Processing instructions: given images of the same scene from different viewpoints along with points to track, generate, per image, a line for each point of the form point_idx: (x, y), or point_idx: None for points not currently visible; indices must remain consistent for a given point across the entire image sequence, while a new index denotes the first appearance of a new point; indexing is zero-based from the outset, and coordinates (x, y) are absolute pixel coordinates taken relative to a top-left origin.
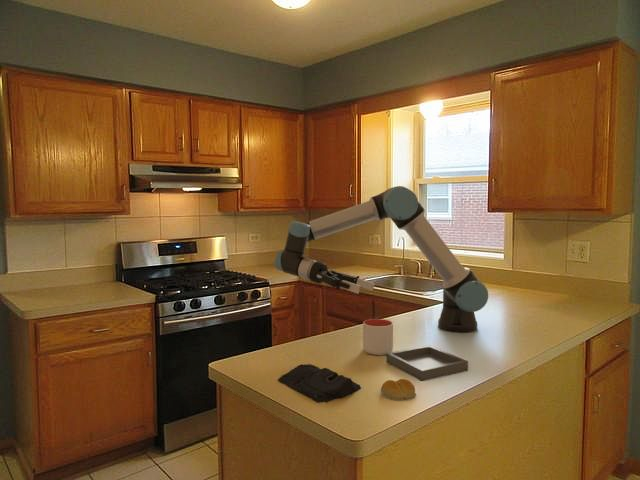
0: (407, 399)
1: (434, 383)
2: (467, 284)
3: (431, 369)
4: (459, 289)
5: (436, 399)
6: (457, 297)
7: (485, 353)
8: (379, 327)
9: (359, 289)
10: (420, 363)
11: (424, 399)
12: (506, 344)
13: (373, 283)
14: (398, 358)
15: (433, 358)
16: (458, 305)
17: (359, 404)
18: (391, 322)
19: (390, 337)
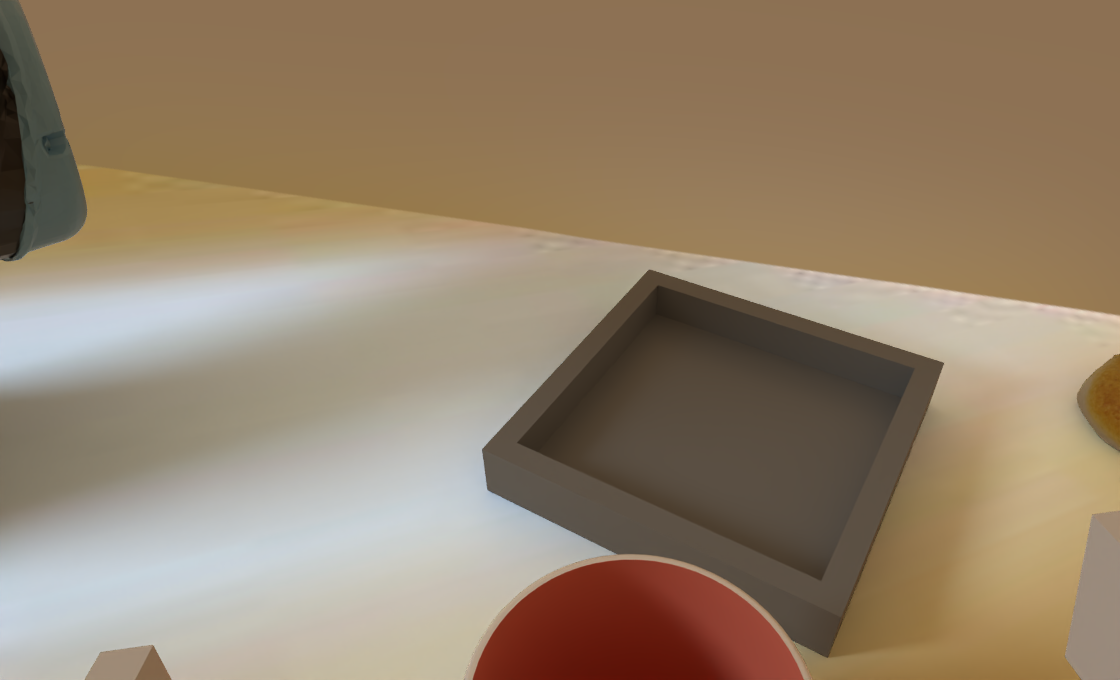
0: None
1: None
2: (25, 20)
3: (877, 345)
4: (28, 90)
5: (1050, 319)
6: (59, 161)
7: (352, 304)
8: (778, 626)
9: (1091, 583)
10: (733, 457)
11: (1097, 346)
12: (169, 271)
13: (150, 661)
14: (875, 510)
15: (603, 430)
16: (30, 236)
17: None
18: (532, 594)
19: (651, 624)
